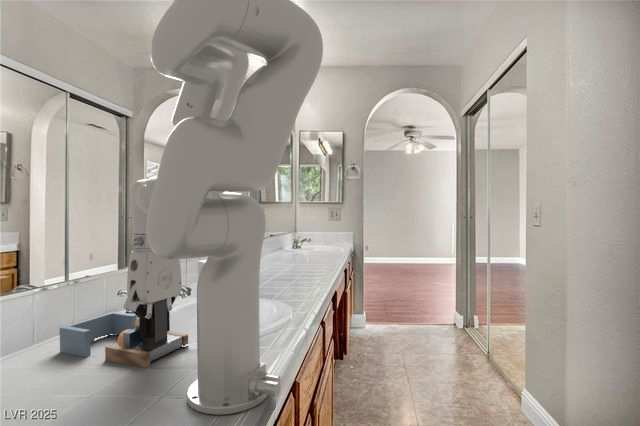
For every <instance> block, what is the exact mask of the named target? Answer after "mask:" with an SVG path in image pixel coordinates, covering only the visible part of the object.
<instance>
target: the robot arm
mask: <svg viewBox="0 0 640 426" xmlns="http://www.w3.org/2000/svg"><path fill="white" fill-rule="evenodd" d="M149 53H150V61H151V64H152V66H153V69H155V70H156V71H157V72H158V73H159V74H160V75H162V76H165V77H166V78H171V79H174V80H178V81H182V86H181V89H180V91H179V95H178V98H177V101H176V105H175V108H174V110H173V113H172V115H171V116H172V117H171V124H172V126H173V129H172V130H171V131H170V134H169V135H168V137H167V140H166V142H165V144H164V148H163V151H162V155H161V159H160V163H159V167H158V172H157V176H153V177H148V178H147V179H139V180H136V181H134V183H133V184H132V193H131V194H132V238H131V239H130V240H129V245H130V246H132V250H131V252H130V256H129V259H128V266H127V267H128V268H127V275H126V276H127V278H126V279H127V280H126V293H127V294H126V295H127V298H126V299H125V302H124V305H123V309H124V310H127V311H130V312H133V313H132V314H135V315H136V316H137V318H139V335H140V337H144V338H149V339H151V338H153V337H154V318H153V317H151V315H152V304H153V303H154V302H158V301H161V300H166V301H167V332H170V331H171V330H170V327H171V326H170V325H171V324H170V322H171V320H170V312H171V311H172V309H173V304H174V303H175V301H176V299H177V298H178V297H179V296H180V295H181V292H182V289H183V287H182V285H183V284H182V268H181V261H180V260H187V259H196V258H204V257H207V258H206V259H205V260H206V262H205V264H204V266H203V268H202V270H201V273H200V275H199V278H198V277H197V284H196V338H197V339H196V346H197V347H196V351H197V352H196V353H197V355H196V356H197V359H196V360H197V363H196V364H197V365H196V366H197V368H196V370H197V371H196V372H197V379H196V380H195V381H194V382H192V384H191V385H189V387H188V389H187V391H186V401H187V404H188V406H190V407H191V408H192V409H194V410H195V411H197V412H200V413H203V414H207V415H218V416H219V415H221V416H222V415H231V414H236V413H241V412H244V411H247V410H251V409H252V408H254V407H256V406H258V405H259V404H261V403H262V402H263V401H265V399H267V398H268V396H271V397H278V396H279V395H280V393H281V389H282V385H281V380H282V379H281V375H277V374H268V372H267V363H266V362H264V361H261V360H260V357H261V355H260V354H261V353H260V352H261V351H260V350H261V348H260V342H261V341H260V339H261V337H260V335H261V334H260V331H261V329H260V328H261V327H260V325H261V324H260V281H261V280H260V278H261V277H260V275H261V274H260V273H261V271H260V270H261V258H262V251H263V244H264V240H265V233H266V226H267V225H266V224H267V223H266V219H267V218H266V214H265V211H264V208H263V207H262V205H261V204H260V203H259V202H258V201H257V200H256V199H255V198H254V197H252V196H249V195H247V194H244V193H242V192H258V191H262V190H265V189H266V188H268V187H269V186H270V185H271V183H272V182H273V180H274V179H275V176H276V174H277V173H278V169H279V167H280V164H281V161H282V159H283V156H284V154H285V151H286V148H287V146H288V143H289V140H290V137H291V134H292V133H293V129H294V126H295V123H296V120H297V118H298V115H299V112H300V111H301V108H302V106H303V104H304V102H305V99H306V97H307V96H308V94H309V93H310V91H311V88H312V87H313V85H314V83H315V80H316V79H317V76H318V74H319V71H320V68H321V65H322V62H323V57H324V56H323V55H324V43H323V36H322V33H321V30H320V28H319V26H318V24H317V23H316V21H315V20H314V18H312V15H310V14H309V13H308V12H307V11H305V9H303V8H302V7H300V6H299V4H298V5H297V4H296V3H295V2H293V1H291V0H174V1H173V2H172V3H171V5H170V6H169V7H168V9H167V10H166V11H165V13H164V14H163V16H162V17H161V18H160V21H159V22H158V24H157V26H156V28H155V30H154V32H153V35H152V38H151V43H150V52H149ZM248 55H252V56H254V57H257V58H259V59H261V60H263V61H264V62H265V64H264V65H262V66H260V67H259V68H258V69H257V70H255V71H254V72H253V73H252V74H251V75H250V76H249V77H248V78H247V79H246V75H247V73H248V70H249V65H250V63H249V62H250V61H249V56H248ZM245 79H246V81H245ZM144 305H146V306H145V309H144Z"/></svg>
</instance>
